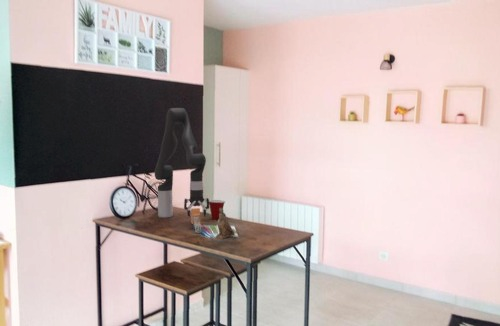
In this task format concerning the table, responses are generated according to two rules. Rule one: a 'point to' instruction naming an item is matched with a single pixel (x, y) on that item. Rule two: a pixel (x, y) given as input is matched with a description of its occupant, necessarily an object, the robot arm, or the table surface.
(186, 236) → the table surface
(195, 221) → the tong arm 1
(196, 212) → the collar
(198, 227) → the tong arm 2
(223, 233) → the brown carved statuette
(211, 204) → the plastic cup
